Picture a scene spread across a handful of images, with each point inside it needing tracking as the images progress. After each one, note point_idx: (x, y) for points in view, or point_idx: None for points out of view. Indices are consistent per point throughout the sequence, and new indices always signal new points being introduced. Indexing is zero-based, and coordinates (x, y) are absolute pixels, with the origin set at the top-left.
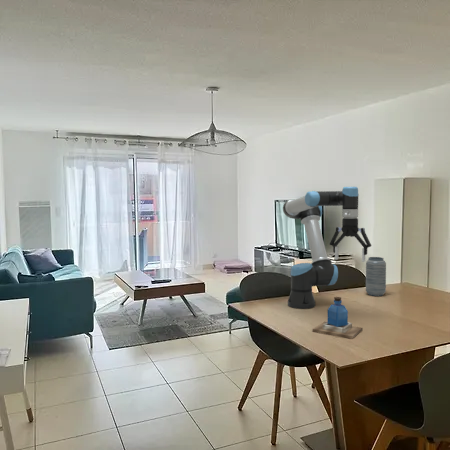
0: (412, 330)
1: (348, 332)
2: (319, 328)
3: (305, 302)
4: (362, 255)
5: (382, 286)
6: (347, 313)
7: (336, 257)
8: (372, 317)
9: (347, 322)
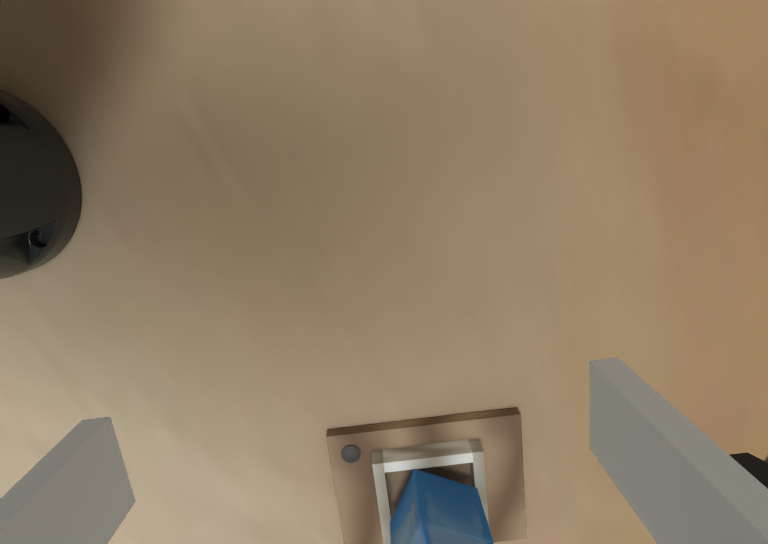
0: (721, 258)
1: (494, 508)
2: (366, 536)
3: (27, 232)
4: (659, 532)
5: None
6: (489, 533)
7: (115, 531)
8: (476, 155)
9: (479, 497)
